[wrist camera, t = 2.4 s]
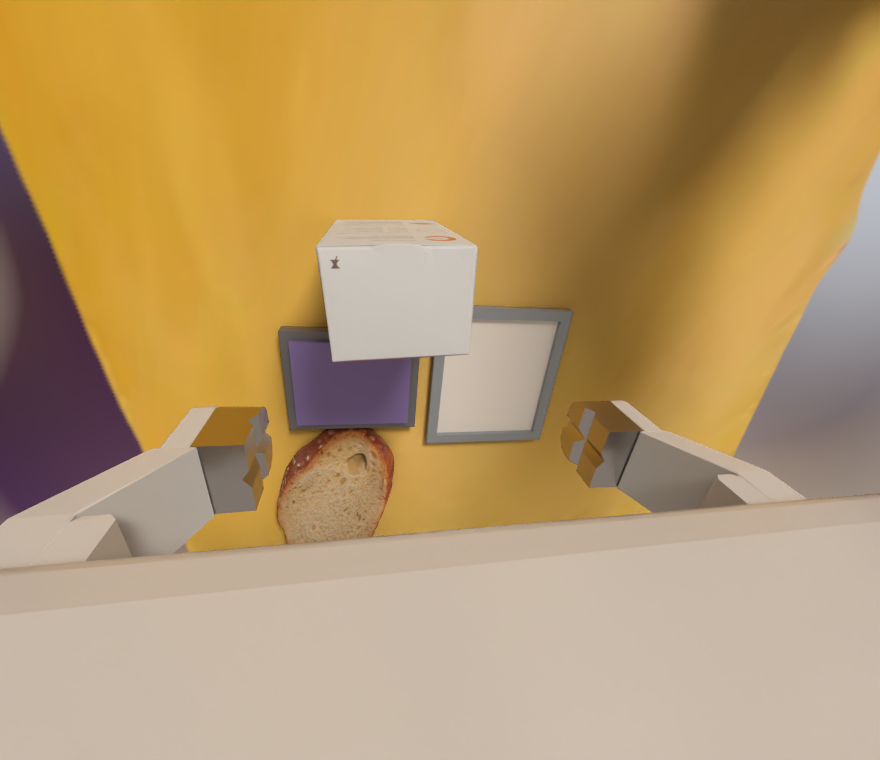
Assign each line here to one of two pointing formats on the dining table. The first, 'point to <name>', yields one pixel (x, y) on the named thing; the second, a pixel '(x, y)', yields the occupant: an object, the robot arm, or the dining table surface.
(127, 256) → the dining table surface
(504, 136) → the dining table surface
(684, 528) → the robot arm
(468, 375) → the print frame
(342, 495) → the bread slice
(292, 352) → the ink pad
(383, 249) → the small box
